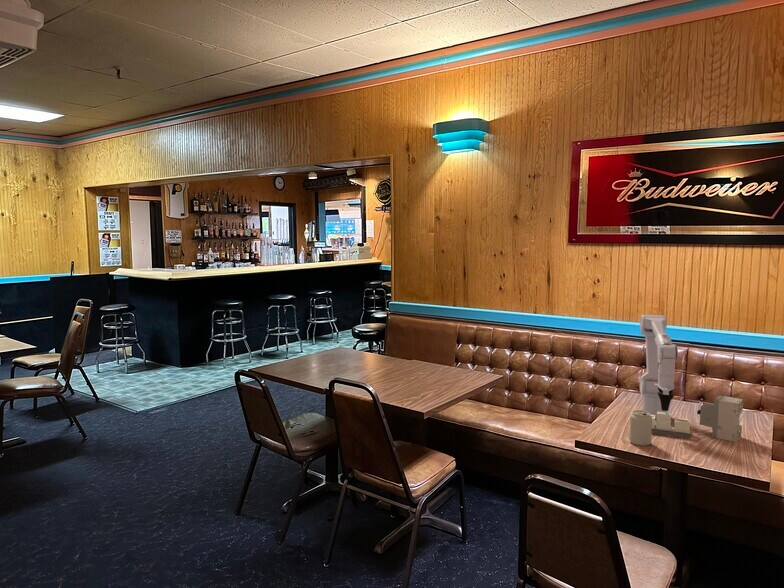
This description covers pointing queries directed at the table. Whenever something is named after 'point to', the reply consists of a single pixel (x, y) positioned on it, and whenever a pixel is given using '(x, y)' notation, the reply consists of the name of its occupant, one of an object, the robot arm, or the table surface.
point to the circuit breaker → (723, 417)
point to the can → (640, 428)
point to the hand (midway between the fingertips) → (664, 407)
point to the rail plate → (674, 428)
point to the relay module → (663, 420)
